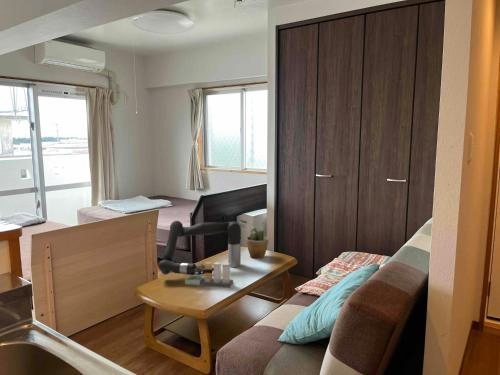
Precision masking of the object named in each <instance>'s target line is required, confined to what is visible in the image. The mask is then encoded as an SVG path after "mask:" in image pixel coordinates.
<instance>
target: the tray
mask: <svg viewBox="0 0 500 375" xmlns="http://www.w3.org/2000/svg"><path fill="white" fill-rule="evenodd" d="M204 279H205V275H188V276H187V278H186V279H185V280H184V283H185V285H186V286H187V285H188V286H197V287H198V286H200V287H201V286H202V281H203V280H204Z"/></svg>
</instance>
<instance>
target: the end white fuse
mask: <svg viewBox="0 0 500 375" xmlns="http://www.w3.org/2000/svg"><path fill="white" fill-rule="evenodd" d="M222 279H223V280H228V283H229V282H230V279H231V267H230V263H227V262H224V263H222Z"/></svg>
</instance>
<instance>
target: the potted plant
mask: <svg viewBox="0 0 500 375" xmlns="http://www.w3.org/2000/svg"><path fill="white" fill-rule="evenodd" d="M264 234H265V229H264V228H262V227H261V228H259V230H257V227H256V226H252V227H251V228H250V236H246V238H245V241H246V242H245V243H246V246H247V250H248V253H249V257H250V259H253V260H262V259H264V258H265V255H266V253H267V248H268V245H269V240H270V239H269V237H268V236H266V235H265V236H264Z"/></svg>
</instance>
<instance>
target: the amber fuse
mask: <svg viewBox="0 0 500 375" xmlns="http://www.w3.org/2000/svg"><path fill="white" fill-rule="evenodd" d="M204 265H205V269H206V270H207V269H210V270H212V268H213V262H212V261H205V263H204ZM204 276H205V279H206V278H207V279H210V281H212V280H213V278H214V277H213V272H212V273H205V274H204Z"/></svg>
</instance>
